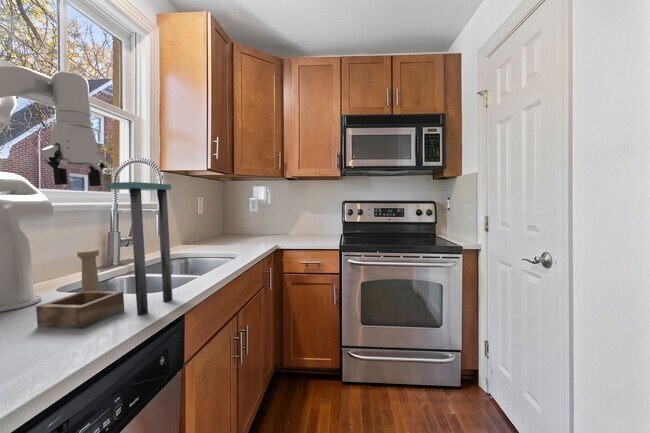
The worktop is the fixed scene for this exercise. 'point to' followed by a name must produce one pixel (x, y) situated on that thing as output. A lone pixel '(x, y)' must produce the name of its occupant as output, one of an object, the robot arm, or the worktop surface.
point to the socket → (79, 309)
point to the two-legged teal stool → (139, 239)
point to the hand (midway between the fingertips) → (79, 185)
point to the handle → (89, 269)
